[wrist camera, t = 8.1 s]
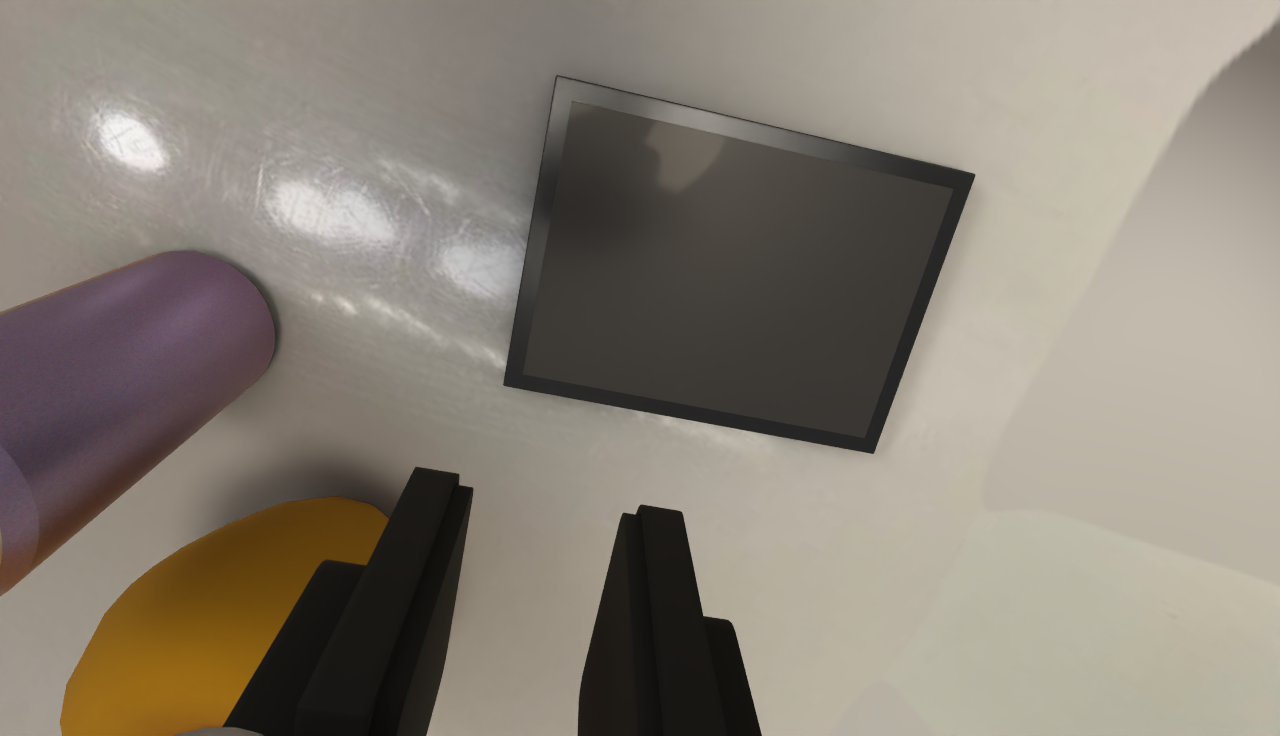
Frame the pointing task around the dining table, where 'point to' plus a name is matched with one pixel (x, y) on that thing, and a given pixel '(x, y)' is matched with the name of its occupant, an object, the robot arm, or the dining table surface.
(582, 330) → the tablet
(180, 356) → the beverage can
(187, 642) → the apple
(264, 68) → the dining table surface
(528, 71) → the dining table surface
